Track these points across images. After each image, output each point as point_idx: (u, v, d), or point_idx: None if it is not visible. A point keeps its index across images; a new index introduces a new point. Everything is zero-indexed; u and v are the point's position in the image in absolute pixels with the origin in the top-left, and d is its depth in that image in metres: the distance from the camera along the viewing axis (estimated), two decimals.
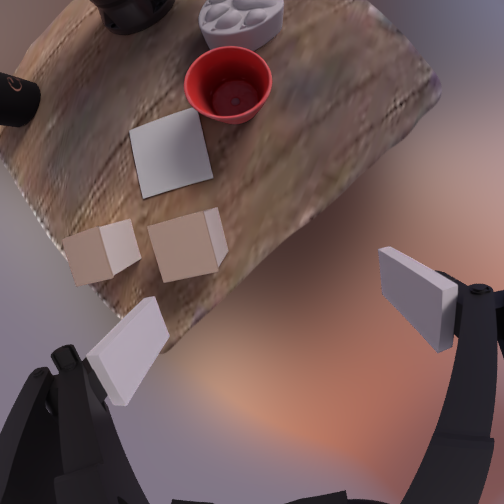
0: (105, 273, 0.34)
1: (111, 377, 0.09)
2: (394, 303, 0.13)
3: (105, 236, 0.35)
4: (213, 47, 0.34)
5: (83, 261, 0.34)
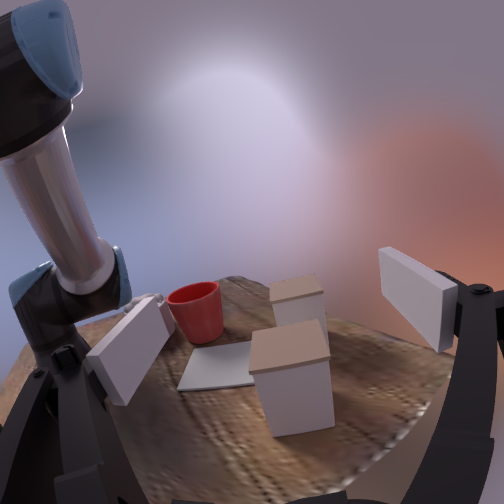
0: (311, 323, 0.29)
1: (111, 377, 0.09)
2: (394, 303, 0.13)
3: None
4: None
5: (290, 345, 0.26)
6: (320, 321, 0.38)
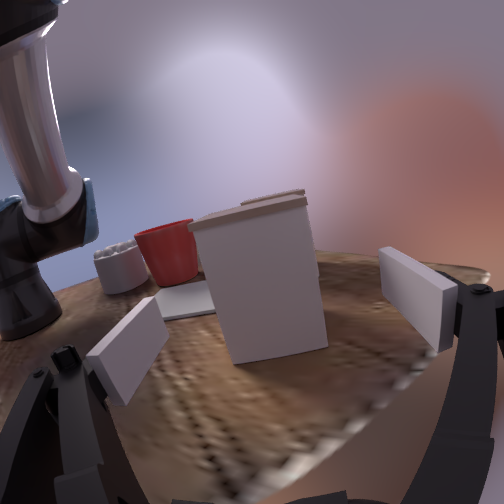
0: (284, 196, 0.23)
1: (111, 377, 0.09)
2: (394, 303, 0.13)
3: None
4: (127, 277, 0.48)
5: (253, 205, 0.19)
6: None
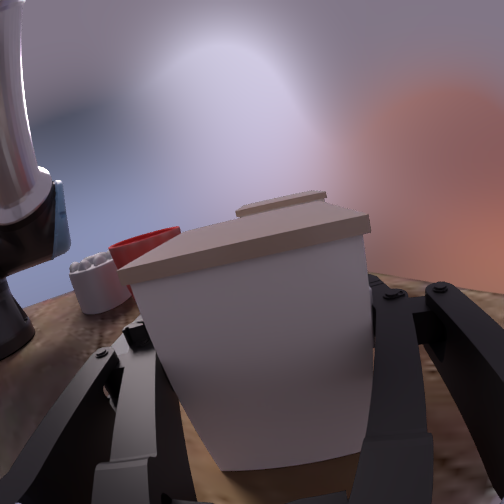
0: (305, 205, 0.13)
1: None
2: None
3: None
4: (105, 296, 0.39)
5: (252, 225, 0.10)
6: None
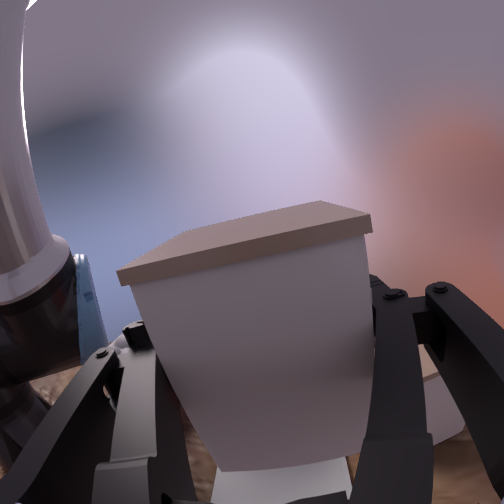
0: (305, 204, 0.13)
1: None
2: None
3: None
4: None
5: (252, 225, 0.10)
6: None
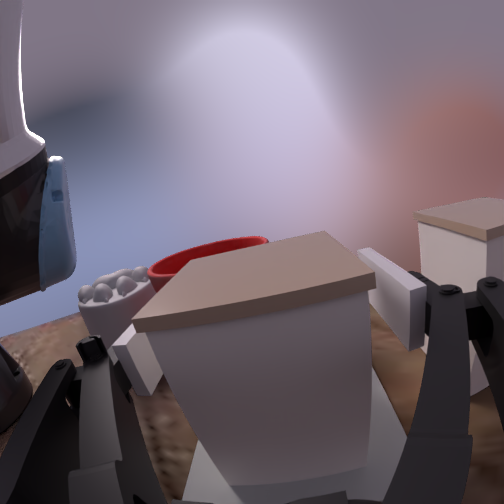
0: (310, 237, 0.14)
1: (137, 367, 0.10)
2: (372, 302, 0.14)
3: None
4: None
5: (259, 267, 0.11)
6: None
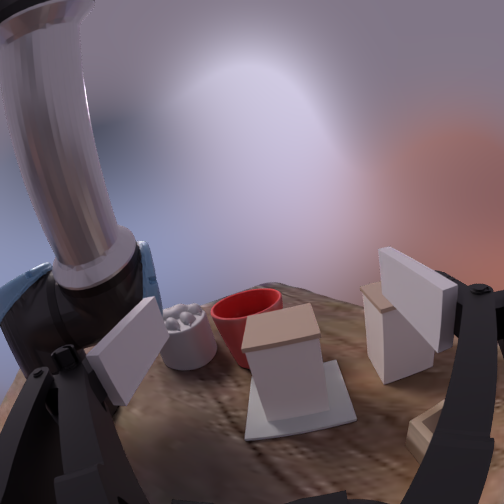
0: (303, 307, 0.30)
1: (111, 377, 0.09)
2: (394, 303, 0.13)
3: None
4: (200, 353, 0.43)
5: (282, 326, 0.27)
6: None
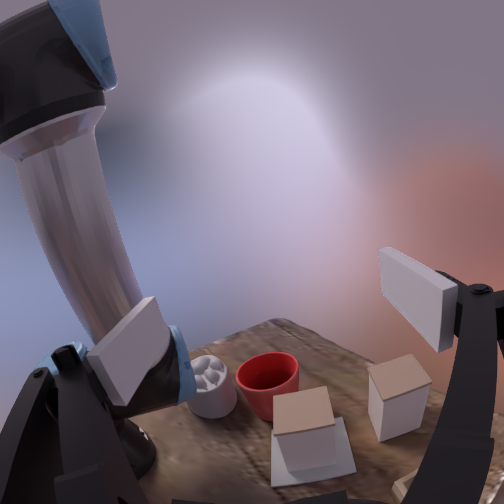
0: (320, 391, 0.33)
1: (111, 377, 0.09)
2: (394, 303, 0.13)
3: None
4: (225, 405, 0.46)
5: (304, 412, 0.30)
6: (421, 406, 0.29)
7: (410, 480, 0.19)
